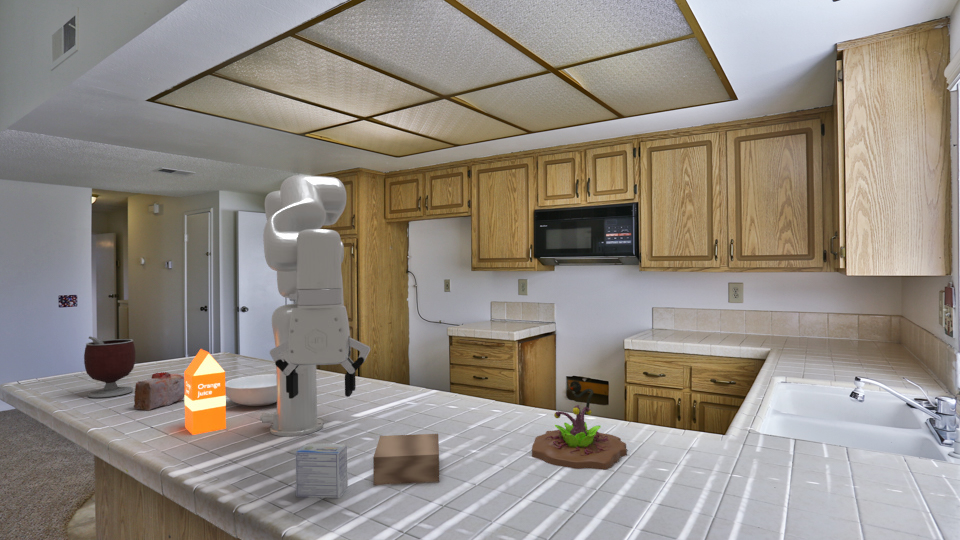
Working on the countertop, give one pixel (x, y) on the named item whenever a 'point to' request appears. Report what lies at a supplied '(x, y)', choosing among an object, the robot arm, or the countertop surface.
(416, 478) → the walnut block
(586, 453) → the plant
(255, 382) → the serving bowl
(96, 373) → the mate gourd
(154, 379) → the food item
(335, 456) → the medicine box
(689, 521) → the countertop surface
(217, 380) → the orange juice
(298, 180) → the robot arm
